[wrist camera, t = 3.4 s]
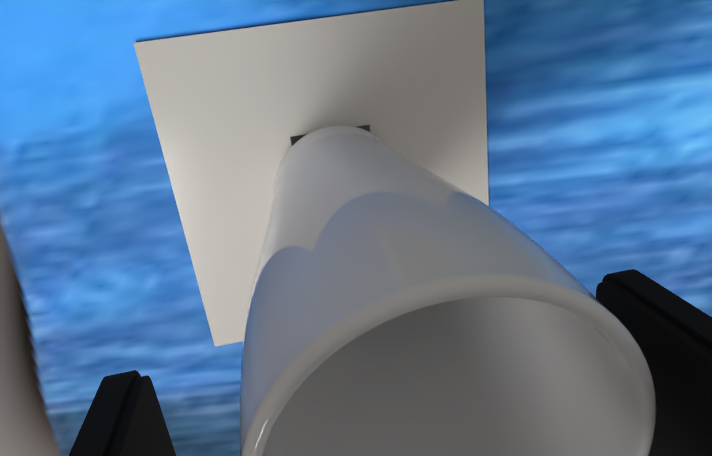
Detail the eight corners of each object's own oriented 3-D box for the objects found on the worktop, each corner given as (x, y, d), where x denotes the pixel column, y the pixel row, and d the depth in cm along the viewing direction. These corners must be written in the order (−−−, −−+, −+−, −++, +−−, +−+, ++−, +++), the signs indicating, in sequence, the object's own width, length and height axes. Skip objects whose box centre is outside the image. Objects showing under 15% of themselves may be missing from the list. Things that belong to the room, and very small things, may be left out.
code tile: (134, 42, 19) (133, 42, 19) (481, -3, 20) (483, -4, 20) (215, 343, 24) (215, 346, 24) (489, 292, 25) (490, 294, 25)
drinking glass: (219, 175, 21) (126, 479, 7) (354, 67, 20) (545, 170, 6) (323, 289, 23) (404, 674, 10) (446, 197, 23) (725, 470, 9)
